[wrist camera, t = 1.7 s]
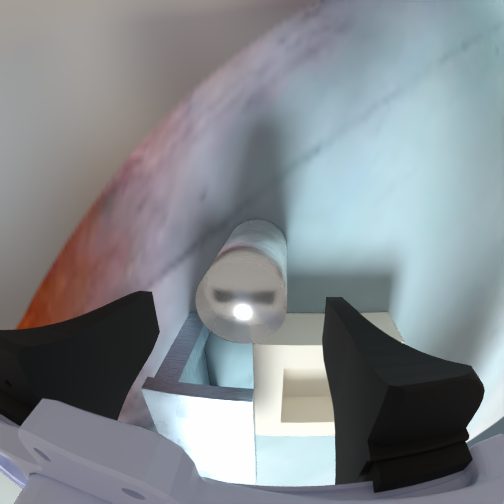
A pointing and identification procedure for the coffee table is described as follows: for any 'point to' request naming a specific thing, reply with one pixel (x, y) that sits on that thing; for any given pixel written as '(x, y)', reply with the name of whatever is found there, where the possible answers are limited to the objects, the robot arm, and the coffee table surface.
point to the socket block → (298, 376)
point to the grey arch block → (203, 410)
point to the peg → (246, 284)
